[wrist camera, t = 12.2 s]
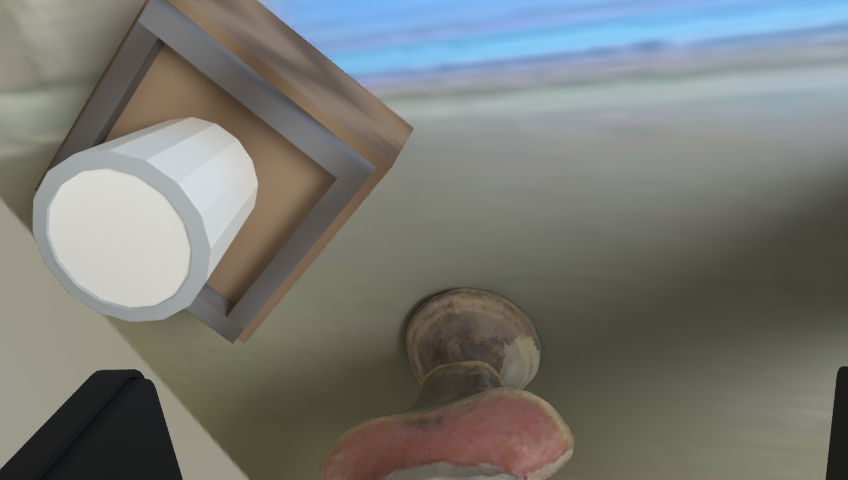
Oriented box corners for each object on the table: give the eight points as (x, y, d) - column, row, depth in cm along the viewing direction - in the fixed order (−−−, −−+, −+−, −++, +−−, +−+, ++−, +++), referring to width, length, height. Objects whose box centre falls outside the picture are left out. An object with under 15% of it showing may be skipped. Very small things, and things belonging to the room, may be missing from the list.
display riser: (413, 128, 38) (387, 175, 32) (282, 287, 43) (235, 356, 36) (216, -33, 36) (144, -19, 30) (102, 151, 41) (18, 198, 35)
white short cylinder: (166, 264, 36) (87, 342, 30) (96, 130, 34) (-6, 183, 28) (296, 226, 34) (240, 299, 28) (231, 81, 32) (154, 125, 26)
